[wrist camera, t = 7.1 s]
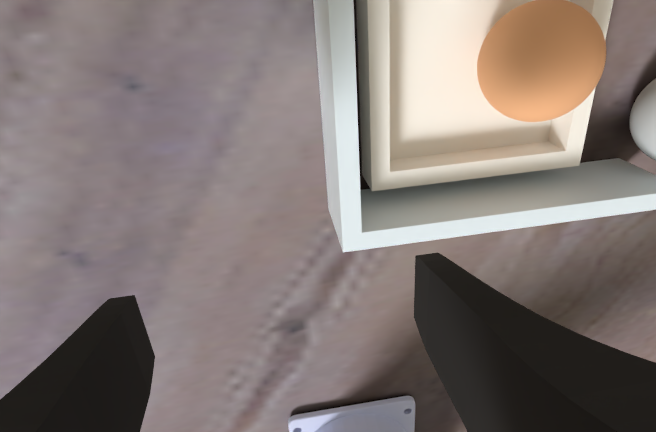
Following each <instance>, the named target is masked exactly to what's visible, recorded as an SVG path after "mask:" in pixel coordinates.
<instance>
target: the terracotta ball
mask: <svg viewBox="0 0 656 432" xmlns="http://www.w3.org/2000/svg"><path fill="white" fill-rule="evenodd" d="M605 60H606V43H605V39H604V35H603V32H602V30H601V28H600V25H599V24H598V23H597V21H596V20H595V18H594V17H593V16H592V15H591V14H590V13H589V12H588V11H586V10H585V9H584V8H582V7H581V6H579V5H577V4H575V3H572V2H569V1H566V0H535V1H531V2H528V3H525V4H523V5H520V6H518V7H516V8H514V9H512V10H511V11H510V12H508V13H507V14H505V15H504V16H503V17H502V18H501V19H500V20H498V21H497V22H496V24H495V25H494V26H493V27H492V28H491V30H490V31H489V32H488V34H487V36H486V37H485V39H484V41H483V43H482V46H481V49H480V52H479V55H478V61H477V76H478V82H479V85H480V88H481V91H482V93H483V94H484V96H485V98H486V99H487V101H488V102H489V103H490V105H491V106H493V107H494V108H495V109H496V110H497V111H499V112H500V113H502V114H503V115H505V116H507V117H509V118H512V119H515V120H519V121H524V122H542V121H547V120H552V119H555V118H558V117H560V116H562V115H564V114H567V113H568V112H570V111H571V110H573V109H575V108H576V107H577V106H579V105H580V104H581V103H582V102H583V101H584V100H585V99H586V98H587V97H588V96H589V95H590V94H591V92H592V91H593V90H594V88H595V87H596V85H597V83H598V82H599V80H600V78H601V75H602V73H603V69H604V66H605Z"/></svg>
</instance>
